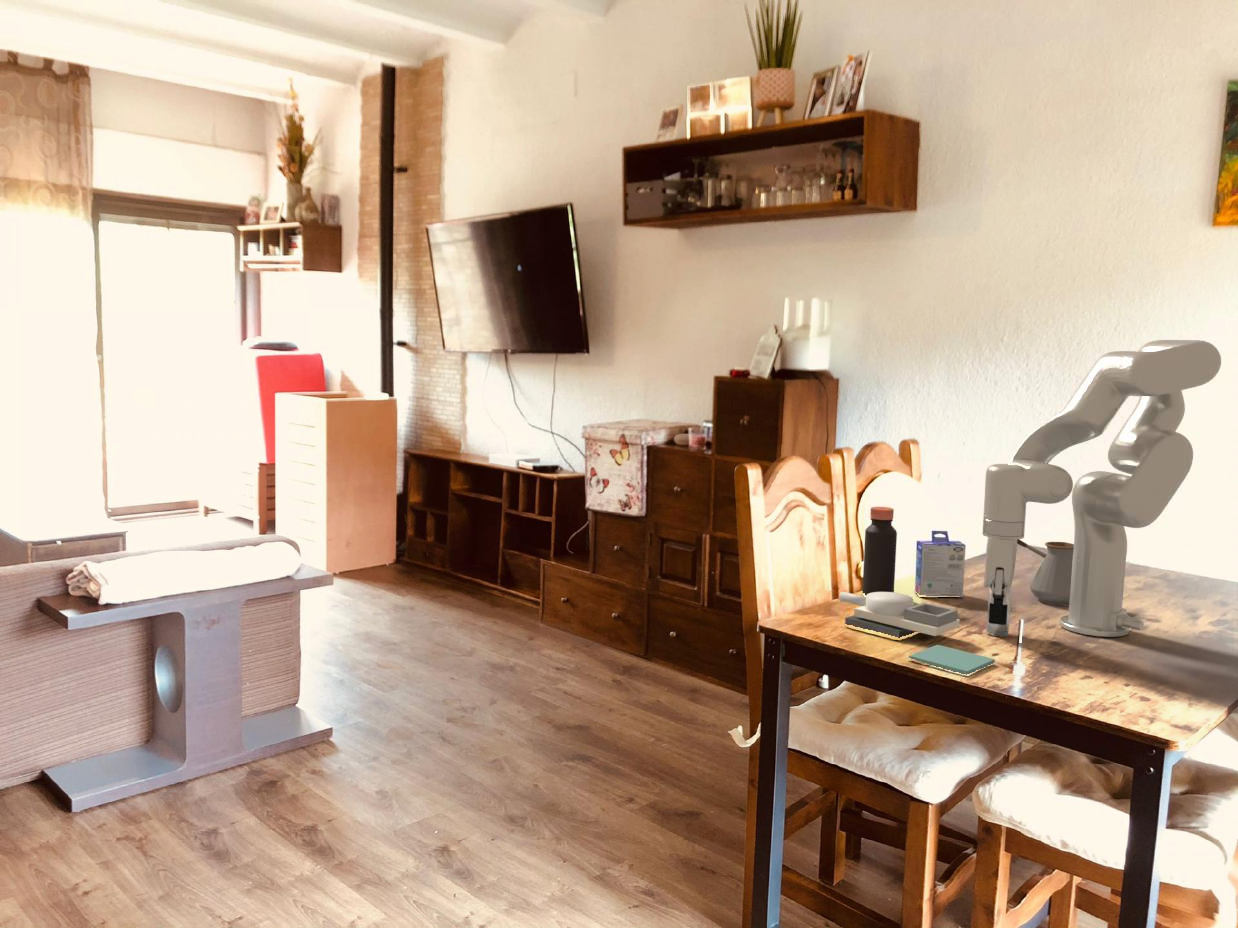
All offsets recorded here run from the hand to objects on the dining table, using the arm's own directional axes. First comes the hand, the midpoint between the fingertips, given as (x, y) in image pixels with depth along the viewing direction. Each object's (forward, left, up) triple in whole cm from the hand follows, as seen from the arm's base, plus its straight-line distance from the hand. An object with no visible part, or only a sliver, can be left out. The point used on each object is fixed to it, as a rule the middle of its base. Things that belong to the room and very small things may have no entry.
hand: (998, 619), depth 193 cm
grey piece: (0, 0, -3) cm, 3 cm away
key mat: (-3, +23, -3) cm, 24 cm away
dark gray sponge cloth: (+16, +13, -3) cm, 21 cm away
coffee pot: (+8, -34, -3) cm, 35 cm away
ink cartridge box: (+23, -19, -3) cm, 30 cm away
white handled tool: (+15, +13, -1) cm, 20 cm away
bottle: (+31, -7, -3) cm, 32 cm away
